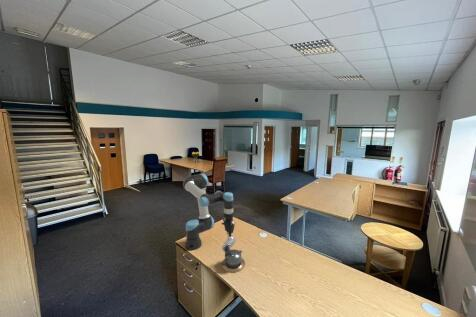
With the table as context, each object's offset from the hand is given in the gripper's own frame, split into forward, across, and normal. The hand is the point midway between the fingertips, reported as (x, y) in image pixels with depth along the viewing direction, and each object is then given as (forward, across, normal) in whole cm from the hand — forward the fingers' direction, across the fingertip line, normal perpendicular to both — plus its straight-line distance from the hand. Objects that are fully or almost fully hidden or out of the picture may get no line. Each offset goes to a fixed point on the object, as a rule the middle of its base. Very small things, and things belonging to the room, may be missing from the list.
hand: (229, 239), depth 167 cm
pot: (+19, +4, 0) cm, 20 cm away
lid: (+4, 0, 0) cm, 4 cm away
